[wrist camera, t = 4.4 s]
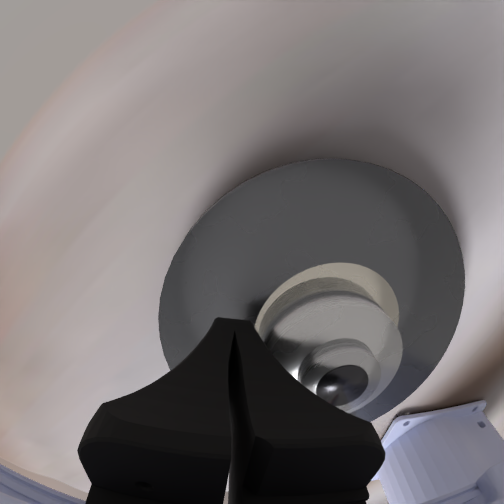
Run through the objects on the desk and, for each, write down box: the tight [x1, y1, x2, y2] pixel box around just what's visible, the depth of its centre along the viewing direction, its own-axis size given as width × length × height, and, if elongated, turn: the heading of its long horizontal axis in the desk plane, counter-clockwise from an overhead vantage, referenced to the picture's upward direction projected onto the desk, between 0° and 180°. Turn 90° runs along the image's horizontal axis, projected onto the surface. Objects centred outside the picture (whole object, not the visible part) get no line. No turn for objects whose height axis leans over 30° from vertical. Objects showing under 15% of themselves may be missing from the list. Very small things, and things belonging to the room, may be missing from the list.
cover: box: [258, 277, 403, 413], centre depth 11 cm, size 5×5×3 cm
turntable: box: [158, 159, 465, 422], centre depth 13 cm, size 14×14×2 cm
